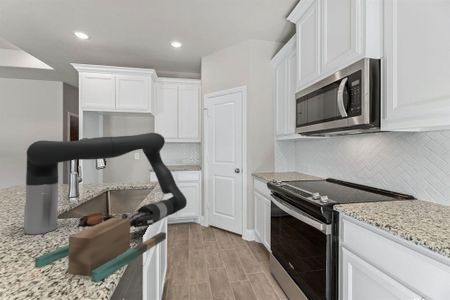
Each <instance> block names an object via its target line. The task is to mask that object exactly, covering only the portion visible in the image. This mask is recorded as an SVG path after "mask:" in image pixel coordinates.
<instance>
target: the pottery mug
mask: <svg viewBox="0 0 450 300" xmlns="http://www.w3.org/2000/svg"><path fill="white" fill-rule="evenodd" d="M111 218H115V216H114V215H112V214H109V215H105V216H104V215H103V212H96V213H90V214H87V215H85V216H82V217H80V218H79V223H78V225H77V229H79V228H81V227H82V228H87V227H89V228H90V227H93V226H95V225H97V224H100V223H102V222H104V221H107V220H109V219H111Z"/></svg>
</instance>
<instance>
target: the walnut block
mask: <svg viewBox="0 0 450 300" xmlns="http://www.w3.org/2000/svg"><path fill="white" fill-rule="evenodd" d="M103 221H104V220H103ZM68 245H69V255H68V262H67V263H68V267H67V268H68V269H67V271H68V272H67V274H68V275H75V276H77V275H78V276H84V277H91V272H92V271H93V270H95V269H97V268H99V267H100V266H102V265H104V264H106V263H107V262H109V261H111V260H113V259H115V258H116V257H118V256H120V255H122V254H123V253H125V252H127V251H129V250H130V249H131V228H130V219H123V218H122V217H120V218H119V217H114V218H111V219H109V220H107V221H104V222H102V223H100V224H97V225H95V226H93V227H89V228H86V229H84V230H82V231H79V232H77V233H75V234H72V235H71V236H70V235H69V236H68Z"/></svg>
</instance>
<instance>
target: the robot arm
mask: <svg viewBox="0 0 450 300" xmlns="http://www.w3.org/2000/svg"><path fill="white" fill-rule="evenodd" d="M165 142H166V140H165V137H164V136H163V135H162V134H160V133H158V132H147V133H142V134H136V135H134V134H133V135H122V136H101V137H100V136H99V137H91V138H84V139H78V140H71V141H70V140H69V141H67V140H66V141H65V140H64V141H63V140H60V141H59V140H58V141H56V140H38V141H35V142H33V143H31V144H30V145H29V146H28V147H27V149H26V174H25V176H26V178H25V205H24V209H23V210H24V212H23V213H24V215H23V216H24V217H23V232H24V234H27V235H38V234H39V235H40V234H45V233H49V232H52V231H54V230H57V229H58V204H59V203H58V202H59V200H58V199H59V198H58V197H59V163H64V162H69V161H76V160H80V161H81V160H87V161H88V160H104V159H105V160H106V159H113V158H114V159H115V158H118V157H121V156H123V155H124V156H125V155H126V154H129V153H131V152H134V151H139V150H142V153H143V154H144V155H145V157H146V159H147V161H148V162H149V165H150V166H151V168H152V170H153V171H154V174H155V177H156V179H157V181H158V185H159V187H160V189H161V192H162V193H163V194H164V195H168V194H171V195H172V197H169V198H168V199H163V200H159V201H154V202H151V203H148V204H146V205H141V206H140V207H139V208H138V210H137V211H136V212H133V213H132V214H129V215H128V214H127V213H122V215H121V218H123V219H130V229H131V228H136V229H137V228H141V227H149V226H152V225H154V224H155V223H158V222H159V221H162V220H163V219H165V218H167V217H168V216H171V215H174V214H175V213H177V212H179V211H181V210H183V209H185V208H186V206H187V204H188V203H187V197H186V196H185V195H184V193H183V192H182V191H181V190H180V187H178V185H177V183H176V181H175V178H174V176H173V173H172V172H171V170H170V169H169V168H168V167H167V165H165V163H164V162H163V160H162V157H161V150H162V149H163V147H164V145H165Z"/></svg>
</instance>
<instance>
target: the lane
mask: <svg viewBox="0 0 450 300" xmlns="http://www.w3.org/2000/svg"><path fill="white" fill-rule="evenodd" d="M166 239H167V232H163V231H160V232H159V233H157V234H156V235H154V236H152V237H150V238H149V239H146V240H145V241H143V242H141V243H139V244H138V245H136V246H134V247H132V248H129V249H128V250H126V251H125V252H123V253H122V254H121V255H119V256H118V257H116V258H115V259H113V260H111V261H109V262H107V263H106V264H104V265H102V266H100V267H99V268H97V269H95V270H93V271H92V272H91V276H90V278H91V279H90V281H93V282H96V283H100V281H102V280H104V279H105V278H106V277H109V275H112V274H113V273H114V272H116V271H117V270H120V268H122V267H124V266H125V265H127V264H129V263H130V262H132V261H134V260H135V259H137V258H138V257H140V256H142V255H143V254H145V253H146V252H148V251H149V250H150V249H152V248H154V247H155V246H157V245H158V244H160V243H161V242H163V241H165V240H166ZM67 256H69V244H67V245H65V246H63V247H60V248H57V249H55V250H53V251H50V252H47V253H45V254H42V255H39V256H37V257H35V258H34V267H38V268H42V267H45V266H47V265H50V264H51V263H54V262H57V261H58V260H61V259H63V258H65V257H67Z"/></svg>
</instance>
